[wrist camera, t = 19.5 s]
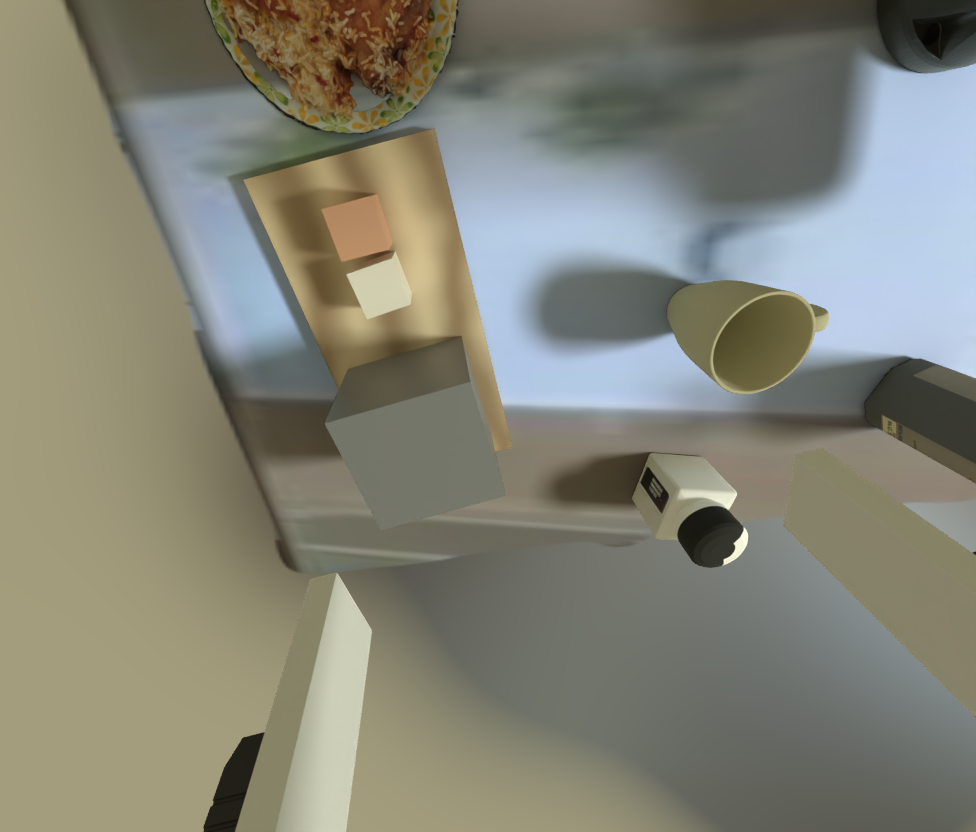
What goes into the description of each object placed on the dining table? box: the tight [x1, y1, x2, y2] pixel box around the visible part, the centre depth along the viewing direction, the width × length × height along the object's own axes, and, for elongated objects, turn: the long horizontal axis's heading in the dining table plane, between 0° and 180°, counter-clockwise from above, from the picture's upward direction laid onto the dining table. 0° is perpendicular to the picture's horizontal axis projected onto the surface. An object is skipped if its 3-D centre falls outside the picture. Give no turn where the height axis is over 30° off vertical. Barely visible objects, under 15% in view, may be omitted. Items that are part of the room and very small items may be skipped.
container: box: [632, 453, 748, 568], centre depth 52 cm, size 8×8×13 cm
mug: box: [667, 280, 829, 394], centre depth 41 cm, size 11×10×12 cm
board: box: [244, 129, 512, 452], centre depth 44 cm, size 16×32×2 cm, turn 13°
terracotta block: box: [321, 194, 393, 262], centre depth 36 cm, size 4×4×4 cm
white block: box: [346, 251, 412, 319], centre depth 38 cm, size 4×4×4 cm
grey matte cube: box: [324, 336, 506, 530], centre depth 42 cm, size 12×12×11 cm
